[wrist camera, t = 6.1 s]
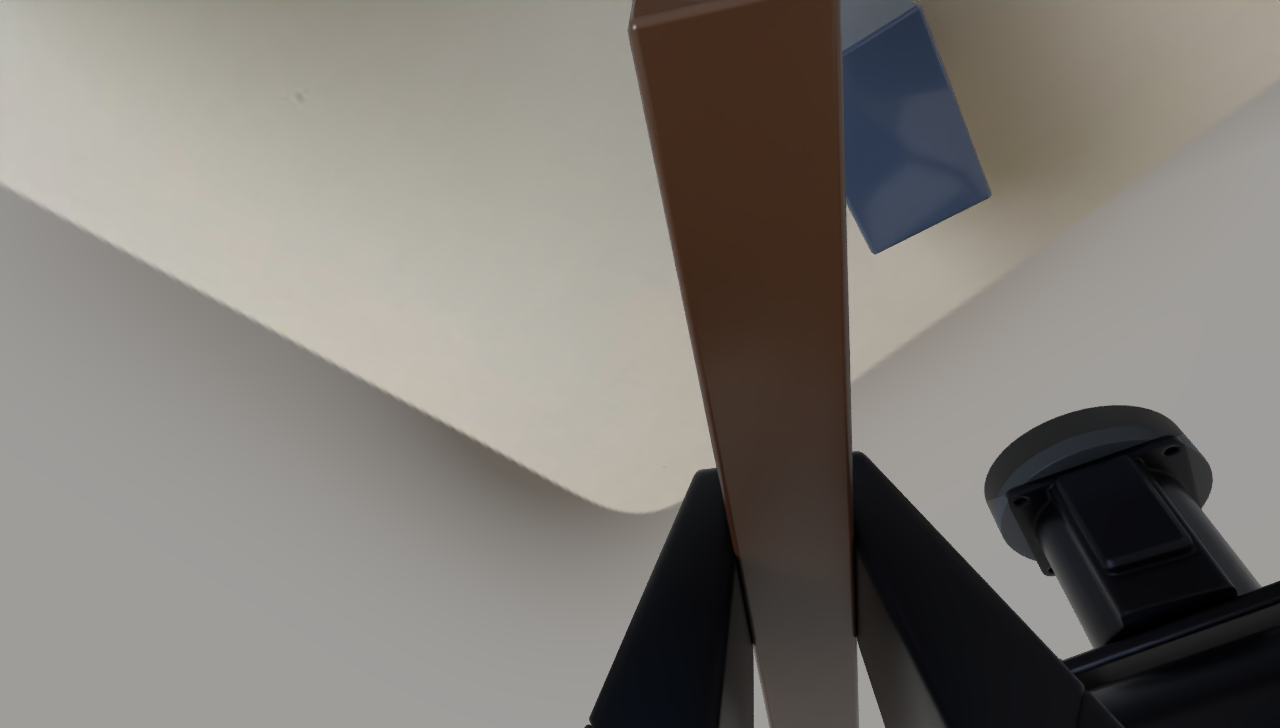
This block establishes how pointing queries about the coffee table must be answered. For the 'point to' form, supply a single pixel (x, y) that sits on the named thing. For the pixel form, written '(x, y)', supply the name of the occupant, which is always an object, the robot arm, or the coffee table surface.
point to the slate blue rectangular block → (901, 126)
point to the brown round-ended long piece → (767, 312)
